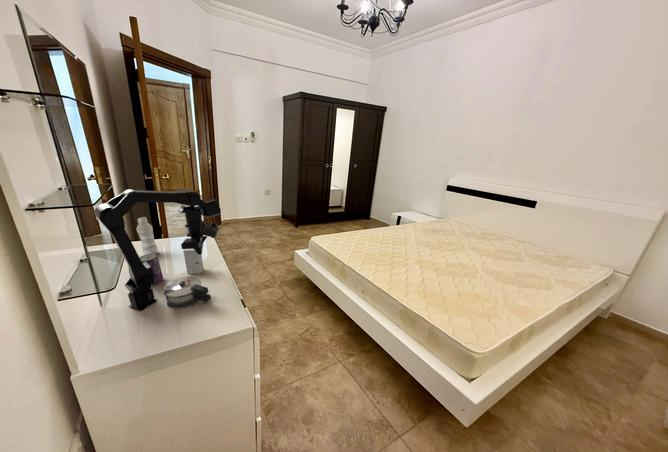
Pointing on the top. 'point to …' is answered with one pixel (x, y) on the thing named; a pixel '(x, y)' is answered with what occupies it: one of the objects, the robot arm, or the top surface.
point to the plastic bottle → (146, 236)
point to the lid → (184, 287)
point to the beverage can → (153, 266)
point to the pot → (186, 300)
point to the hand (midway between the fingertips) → (200, 254)
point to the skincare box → (193, 261)
